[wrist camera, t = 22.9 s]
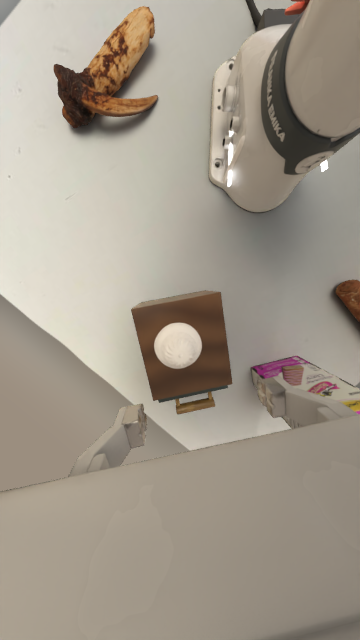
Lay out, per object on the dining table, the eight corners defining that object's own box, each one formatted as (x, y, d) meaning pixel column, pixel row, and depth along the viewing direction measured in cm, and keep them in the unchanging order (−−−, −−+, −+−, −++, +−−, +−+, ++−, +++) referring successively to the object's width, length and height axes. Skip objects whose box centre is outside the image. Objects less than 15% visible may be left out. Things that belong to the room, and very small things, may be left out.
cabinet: (215, 359, 37) (232, 384, 28) (156, 371, 37) (153, 401, 27) (205, 290, 34) (220, 292, 25) (140, 302, 33) (130, 309, 24)
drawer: (217, 384, 37) (231, 410, 30) (164, 396, 37) (164, 424, 29) (205, 302, 34) (216, 307, 26) (145, 314, 33) (139, 322, 25)
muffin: (199, 319, 25) (211, 332, 18) (194, 358, 26) (204, 383, 19) (157, 315, 25) (154, 327, 18) (154, 355, 26) (149, 381, 19)
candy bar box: (296, 353, 38) (389, 402, 22) (298, 373, 39) (388, 433, 23) (249, 365, 38) (309, 423, 22) (252, 385, 39) (311, 454, 23)
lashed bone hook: (102, 165, 29) (181, 79, 27) (91, 144, 24) (184, 39, 23) (56, 111, 27) (138, 13, 25) (34, 76, 22) (132, -46, 20)
